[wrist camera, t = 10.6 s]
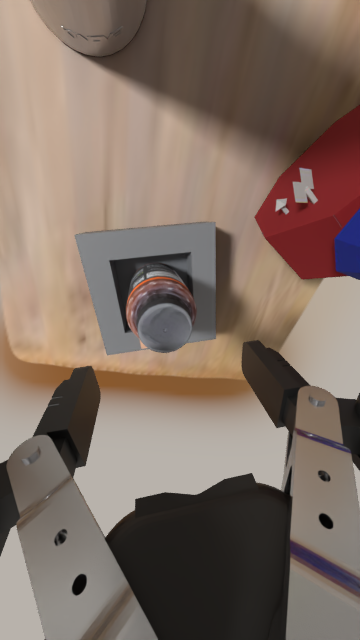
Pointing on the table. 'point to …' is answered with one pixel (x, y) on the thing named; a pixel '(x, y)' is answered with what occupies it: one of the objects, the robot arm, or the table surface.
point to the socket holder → (136, 251)
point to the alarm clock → (319, 205)
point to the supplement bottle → (160, 308)
